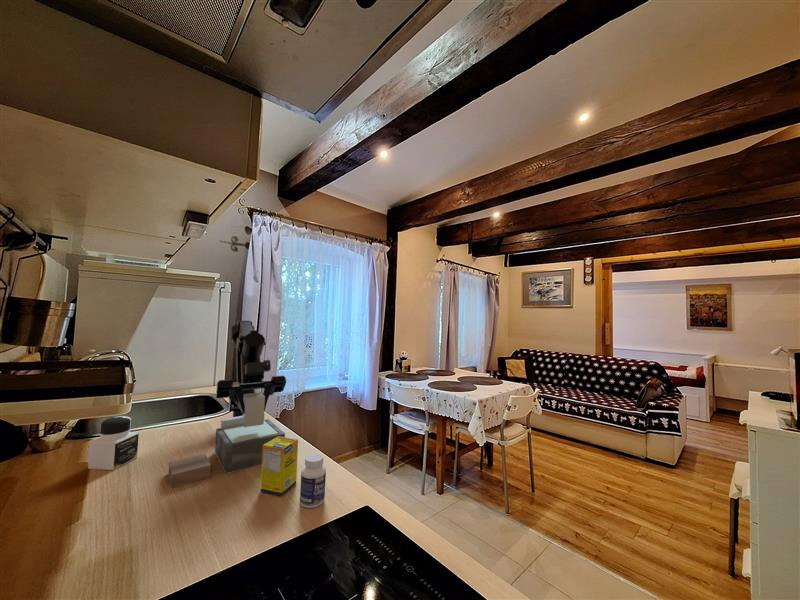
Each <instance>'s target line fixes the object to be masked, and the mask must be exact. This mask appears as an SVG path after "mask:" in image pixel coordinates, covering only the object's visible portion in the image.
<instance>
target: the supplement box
mask: <svg viewBox="0 0 800 600" xmlns="http://www.w3.org/2000/svg"><path fill="white" fill-rule="evenodd" d="M298 450H299V438H298V439H297V438H291V437H286V436H285V437H280V436H278V437H276V438H275V439H273V440H271V441H269V442H267V443H266V444H264V445H263V447H262V464H261V473H260V474H261V475H260V492H261V493H267V494H271V495H276V496H280V497H283V495H284V494H285V495H286V493H287V492H288V491H290V489H291V488H293V487H294V486H296V484H297V477H298V476H297V474H298V473H297V472H298V452H299V451H298Z"/></svg>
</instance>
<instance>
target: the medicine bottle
mask: <svg viewBox="0 0 800 600" xmlns="http://www.w3.org/2000/svg"><path fill="white" fill-rule="evenodd" d="M131 423H132V418H131V417H129V416H125V415H122V416H121V415H119V416H113V417H109V418H106V419H105V420H103V421H102V422H100V432H99V435H100V437H98V438H95V439H93V440H90V441H89V449H88V450H89V451H88V462H87V469H88V470H101V471H102V470H105V471H106V470H108V471H115V470H117V469H119V468H121V467H122V466H125V465H126V464H128V463H130V462H133V461H134V460H136V459H137V458H138V452H139V451H138V449H139V432H137V431H136V432H133V431H131V428H132V426H131Z"/></svg>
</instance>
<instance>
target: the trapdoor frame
mask: <svg viewBox="0 0 800 600" xmlns="http://www.w3.org/2000/svg"><path fill="white" fill-rule="evenodd" d="M264 421H265V422H266V423H268V424H269V425H270V426H271V427H272V428H273V429H274V430H275V431H276V432H278V434H273V435H269V436H264V437H260V438H255V439H251V440H246V441H242V442H238V443H233V444H231V442H230V441H229V439H228V438H227V436H226V435H225V433H224V432H223V431H222V429H221V427H218V428H215V445H214V454H215V456H216V457H217V460H218V461H219V463H220V465H221V467H222V469H223V471H224V473H225V474H230V473H233V472H237V471H240V470H244V469H247V468H248V469H249V468H251V467H255V466H258V464H259V465H262V447H263V445H264V444H266V443H267V442H269V441H271V440H273V439H275V438H276V437H278V436H280V437H286V433H285V432H284V431H283V430H281V428H280V427H278V426H277V425H276V424H275V423H274V422H273V421H271V419H269V418H267V419H264Z"/></svg>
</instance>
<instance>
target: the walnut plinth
mask: <svg viewBox="0 0 800 600" xmlns="http://www.w3.org/2000/svg"><path fill="white" fill-rule="evenodd" d="M211 467H212V465H211V462H210V460H209V457H208V456H207V454H206V453H202V454H197V455H192V456H189V457H184V458H180V459H179V458H178V459H176V460H171V461H169V462H168V479H169V483H170V488H176V487H179V486H182V485H186V484H190V483H193V482H197V481H201V480H204V479H208V478H211Z"/></svg>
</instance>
